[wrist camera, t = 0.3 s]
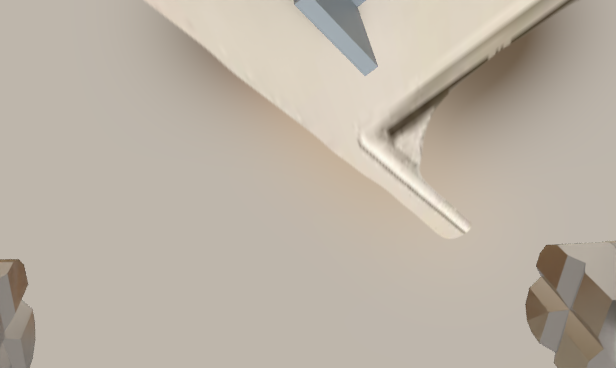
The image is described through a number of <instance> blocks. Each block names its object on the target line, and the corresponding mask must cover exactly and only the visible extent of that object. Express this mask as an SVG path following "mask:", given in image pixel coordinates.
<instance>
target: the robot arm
mask: <svg viewBox="0 0 616 368" xmlns="http://www.w3.org/2000/svg"><path fill="white" fill-rule="evenodd" d="M536 267H537V269H538V271H539V273H540V275H541V277H540V278H539V279H538V280H537V281H536V282H535V283H534V284H533V285H532V286H531V287H530V288H529V292H528V296H527V300H526V304H525V305H526V315H527V322H528V324H529V327H530V329H531V332H532V333H533V335H534V336H535V338H536V339H537V340H538V342H539V343H540V344H542V345H543V346H545V347H547V348H549V349H550V350H552V351H554V352H555V358H554V364H555V365H556V366H557V368H616V241H605V242H595V243H575V244H556V245H546V246H545V247H544V249H543V250H542V251H541V253H540V255H539V258H538V261H537V264H536ZM27 286H28V281H27V276H26V272H25V268H24V264H23V263H22V262H21V261H20V260H19V259H5V260H4V259H0V368H30V365H31V362H32V359H33V351H34V345H35V320H34V314H33V309H32V308H31V307H30V306H28V305H27V304H26V303H25V302H24V301H23V300H22V297H23V295H24V293H25V290H26V288H27Z"/></svg>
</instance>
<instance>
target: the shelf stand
mask: <svg viewBox="0 0 616 368" xmlns="http://www.w3.org/2000/svg"><path fill="white" fill-rule="evenodd" d="M364 1H366V0H294V5H295V6H296V7H297V8H298V9H299V10H300V11H301V12H302V13H303V14H304V15H305V16H306V17H307V18H308V19H309V20H310V21H311V22H312V23H313V24H314V25H315V26H316V27H317V28H318V29H319V30H320V31H321V32H322V33H323V34H324V35H325V36H326V37H327V38H328V39H329V40H330V41H331V42H332V43H333V44H334V45H335V46H336V47H337V48H338V49H339V50H340V51H341V52H342V53H343V54H344V55H345V56H346V57H347V58H348V59H349V60H350V61H351V62H352V63H353V64H354V65H355V66H356V67H357V68H358V70H359V71H360V72H361V73H362V74H363V75H364V76H366V75H367V74H369V73H370V72H371V71H373V70H374V69H375V68H377V67H378V65H377V62H376V59H375V56H374V53H373V51H372V48H371V45H370V42H369V39H368V36H367V33H366V31H365V28H364V25H363V22H362V19H361V16H360V13H359V10H358V8H357V7H358V6H359V5H361V4H362V3H363V2H364Z"/></svg>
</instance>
